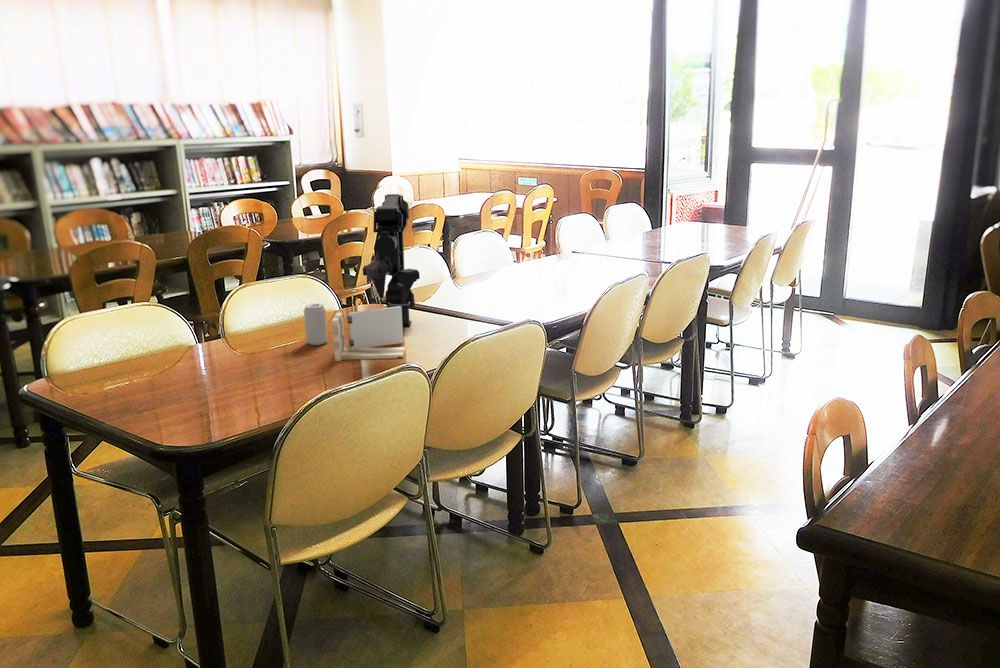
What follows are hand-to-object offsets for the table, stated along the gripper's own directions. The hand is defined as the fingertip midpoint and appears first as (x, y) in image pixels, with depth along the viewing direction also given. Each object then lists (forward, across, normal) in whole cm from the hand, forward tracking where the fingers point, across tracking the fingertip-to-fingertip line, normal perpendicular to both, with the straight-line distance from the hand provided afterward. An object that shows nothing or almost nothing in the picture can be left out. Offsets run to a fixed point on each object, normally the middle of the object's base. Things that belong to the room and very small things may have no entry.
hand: (392, 300), depth 242 cm
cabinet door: (+13, -1, -6) cm, 14 cm away
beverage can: (+14, -20, -14) cm, 28 cm away
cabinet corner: (+13, +4, -13) cm, 19 cm away
